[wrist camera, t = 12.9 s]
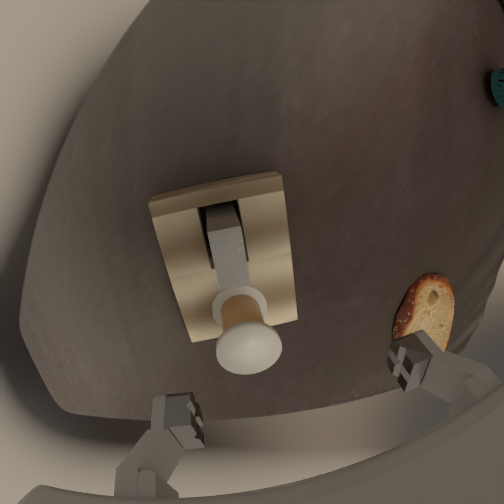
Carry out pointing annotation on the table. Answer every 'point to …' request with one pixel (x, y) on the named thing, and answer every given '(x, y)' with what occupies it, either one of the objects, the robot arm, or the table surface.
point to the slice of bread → (427, 309)
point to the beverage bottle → (498, 86)
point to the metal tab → (227, 245)
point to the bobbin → (244, 331)
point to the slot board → (201, 263)
